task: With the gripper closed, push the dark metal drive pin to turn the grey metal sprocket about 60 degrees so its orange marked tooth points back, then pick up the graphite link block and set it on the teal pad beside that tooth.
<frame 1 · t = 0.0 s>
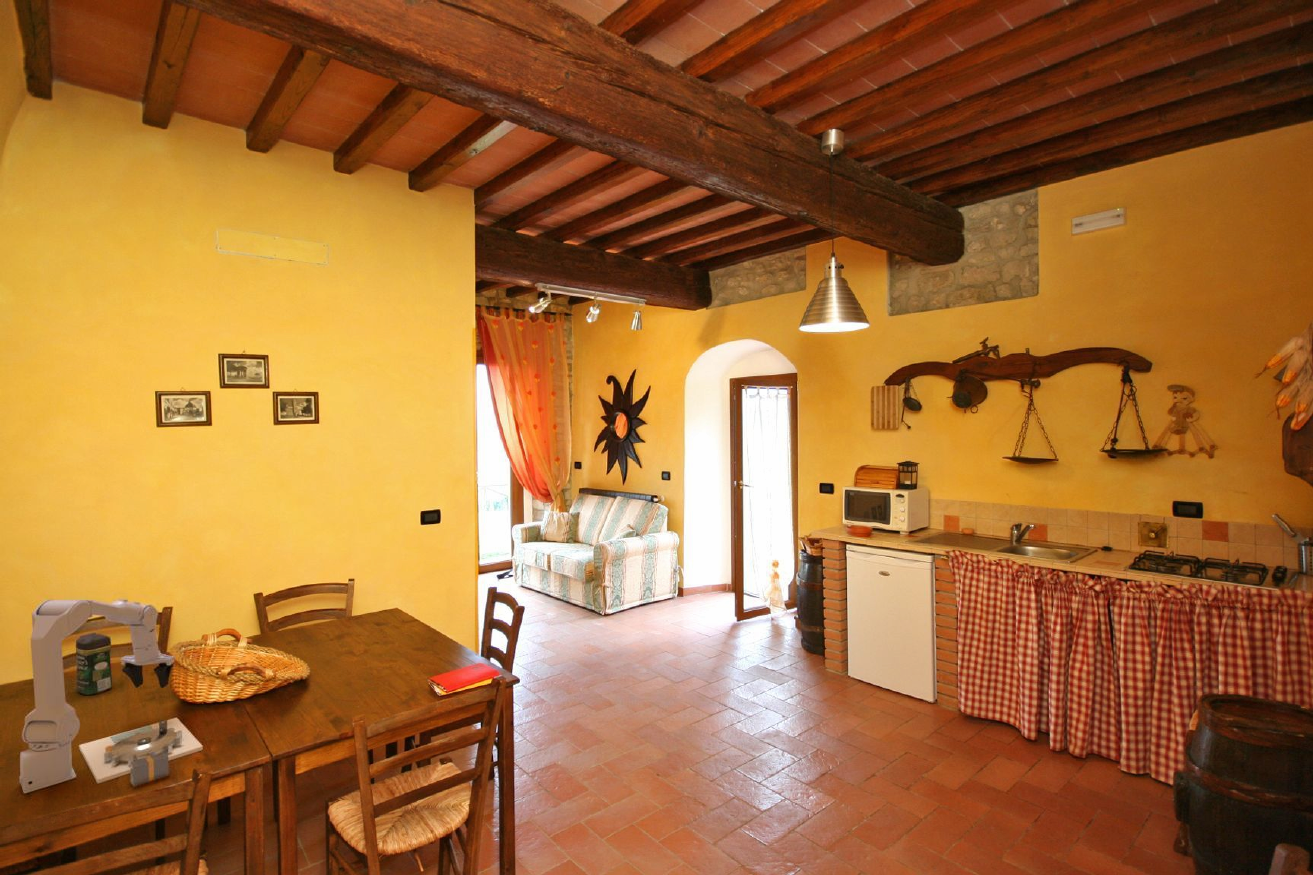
hand: (151, 685, 195), 11 cm above the table, tool pointing down, fingers open, 7 cm apart
link block: (149, 778, 164), on the table
coffee jar: (94, 690, 217), on the table
sprocket: (144, 740, 176), point 4 cm above the table, hinge at 0.0°
sprocket base: (140, 749, 178), on the table
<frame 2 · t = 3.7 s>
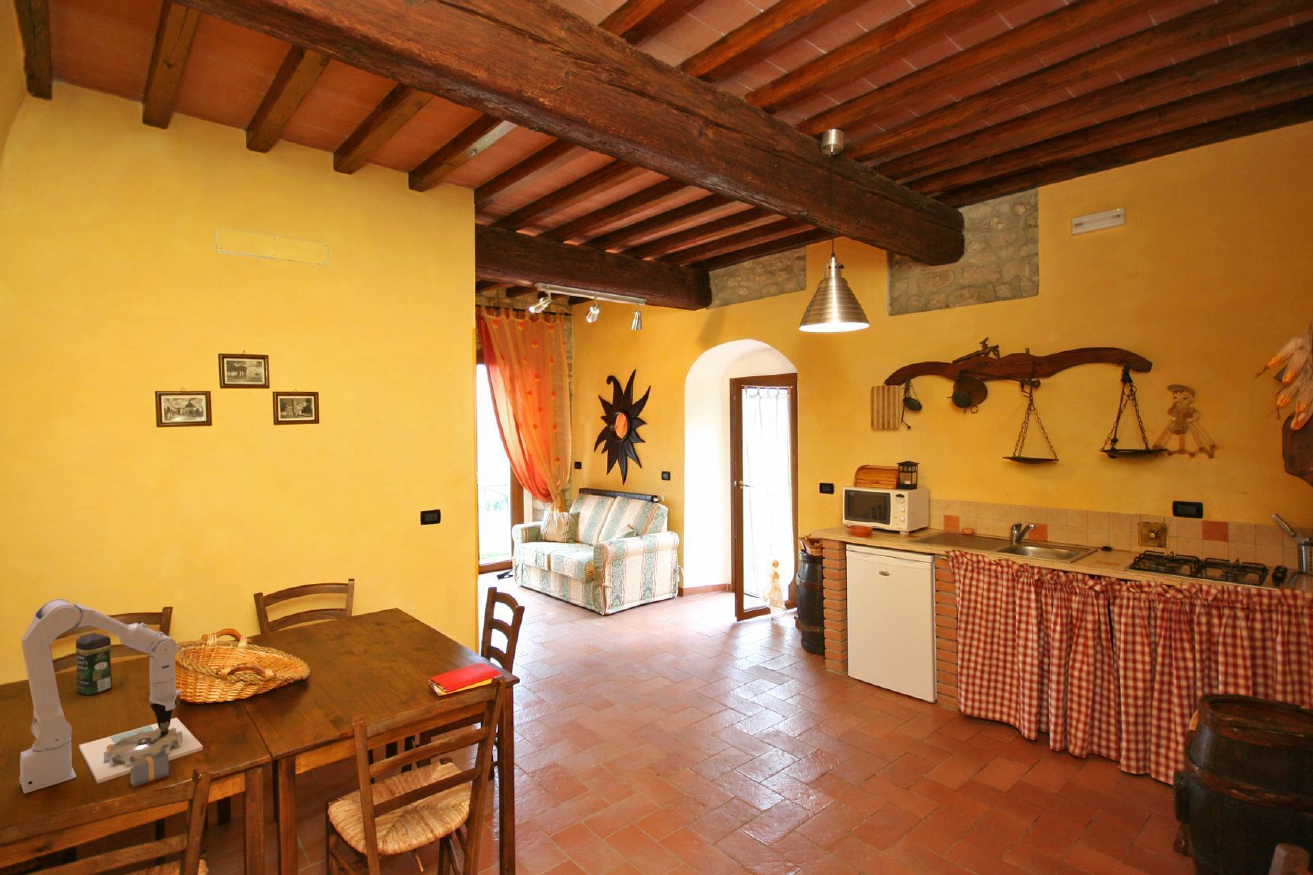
hand: (164, 727, 182), 4 cm above the table, tool pointing down, fingers closed, pressing on sprocket
sprocket: (144, 740, 176), point 4 cm above the table, hinge at -5.1°, touching gripper
everything else where it was.
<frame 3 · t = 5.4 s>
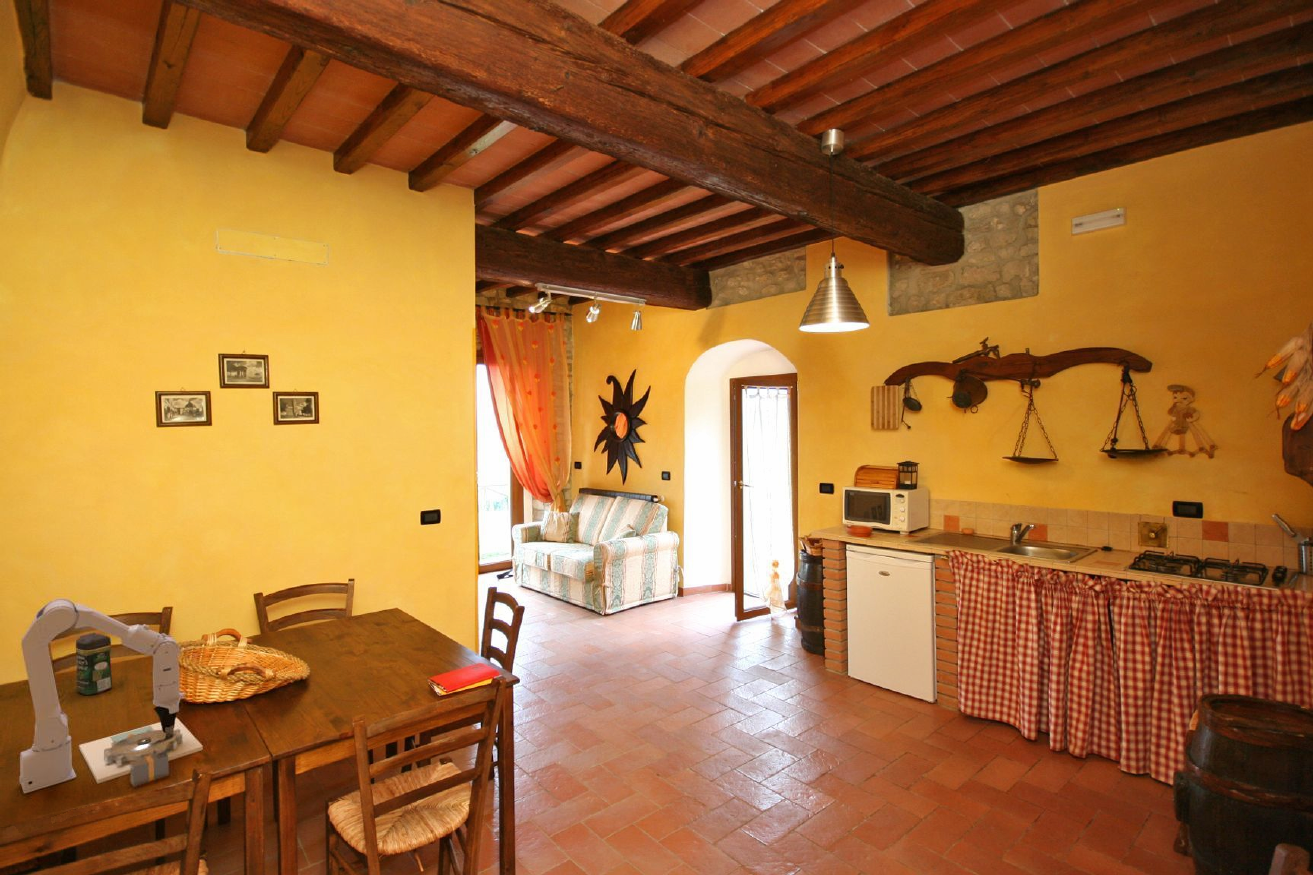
hand: (168, 730, 179), 5 cm above the table, tool pointing down, fingers closed, pressing on sprocket
sprocket: (144, 740, 176), point 4 cm above the table, hinge at -49.0°, touching gripper
everything else where it was.
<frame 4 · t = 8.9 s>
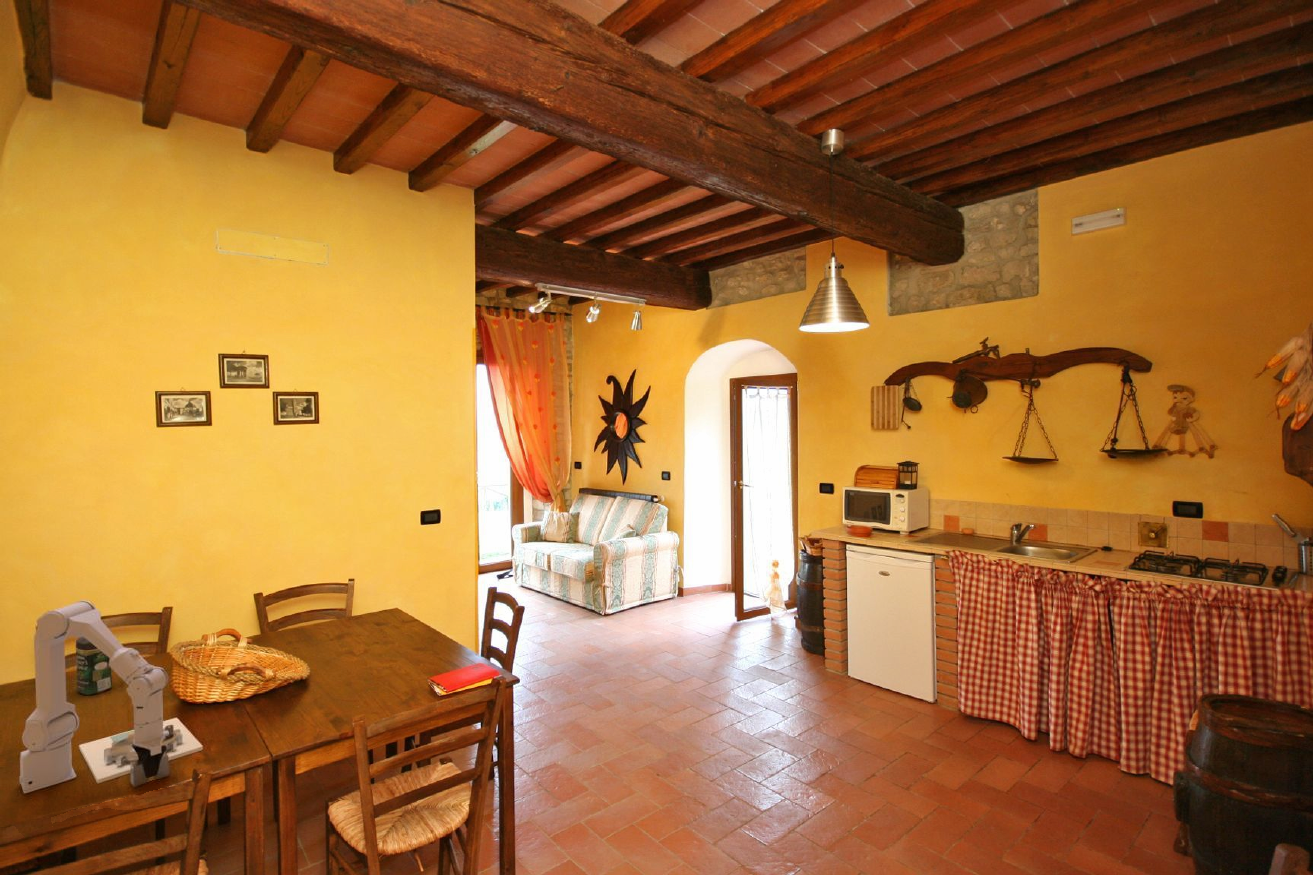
hand: (149, 773, 164), 1 cm above the table, tool pointing down, fingers closed on link block, 3 cm apart
link block: (149, 778, 164), on the table, touching gripper
sprocket: (144, 740, 176), point 4 cm above the table, hinge at -49.4°
everything else where it was.
when the fingers open (4 cm above the table, at t = 13.6 s): link block drops 1 cm, resting on sprocket base.
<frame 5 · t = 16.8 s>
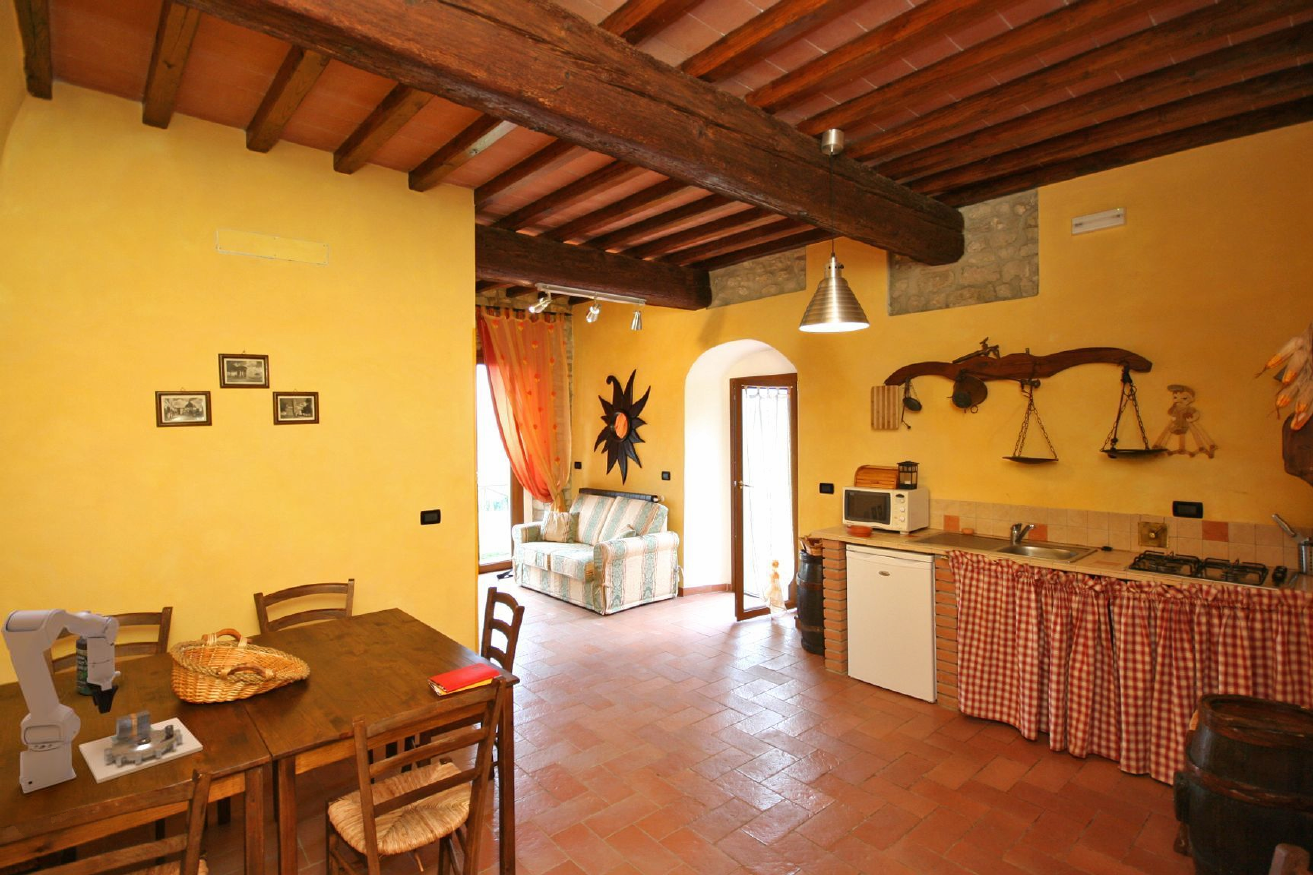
hand: (102, 708, 182), 9 cm above the table, tool pointing down, fingers open, 7 cm apart
link block: (133, 733, 185), point 1 cm above the table, touching sprocket base
everything else where it was.
at the end: sprocket at -49° (first picture: +0°); link block 0.2 cm from the target spot, point 1.2 cm above the table; link block tilted 0° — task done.
